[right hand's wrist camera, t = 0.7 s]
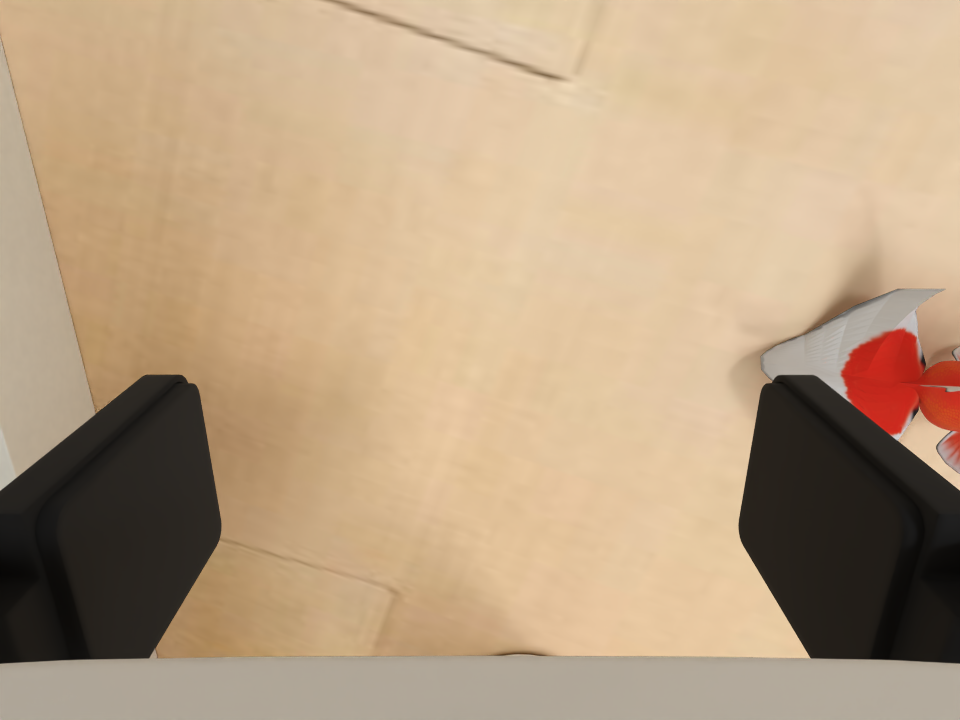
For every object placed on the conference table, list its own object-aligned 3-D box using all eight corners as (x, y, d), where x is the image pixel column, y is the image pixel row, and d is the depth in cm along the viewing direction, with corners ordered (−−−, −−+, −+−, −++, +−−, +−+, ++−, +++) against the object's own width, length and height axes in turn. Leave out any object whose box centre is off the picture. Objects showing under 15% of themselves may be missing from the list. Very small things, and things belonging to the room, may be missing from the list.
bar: (198, 818, 58) (157, 924, 50) (150, 818, 58) (101, 925, 50) (-121, -447, 28) (-337, -644, 21) (-220, -445, 28) (-472, -642, 21)
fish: (958, 534, 41) (1053, 560, 31) (722, 414, 45) (742, 405, 36) (1040, 383, 41) (1160, 364, 31) (796, 277, 45) (836, 232, 36)
